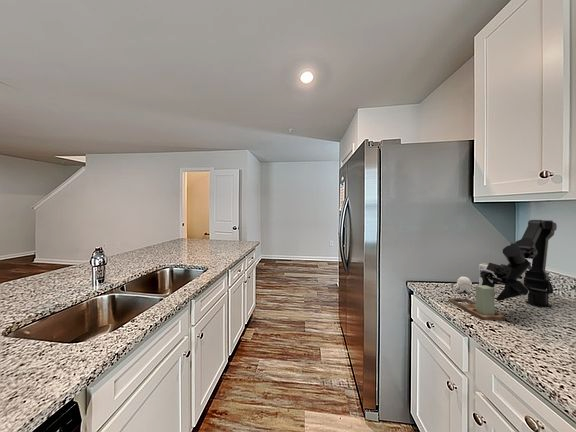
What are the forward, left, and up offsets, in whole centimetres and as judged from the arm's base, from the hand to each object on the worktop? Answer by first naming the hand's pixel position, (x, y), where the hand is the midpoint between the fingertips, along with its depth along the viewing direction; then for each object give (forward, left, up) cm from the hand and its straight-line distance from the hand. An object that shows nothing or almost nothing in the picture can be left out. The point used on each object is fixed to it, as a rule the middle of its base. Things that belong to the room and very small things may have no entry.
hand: (488, 296), depth 109 cm
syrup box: (-24, -31, -8) cm, 40 cm away
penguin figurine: (-12, -33, -8) cm, 36 cm away
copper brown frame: (+1, -6, -8) cm, 10 cm away
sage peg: (+1, 0, -8) cm, 8 cm away
